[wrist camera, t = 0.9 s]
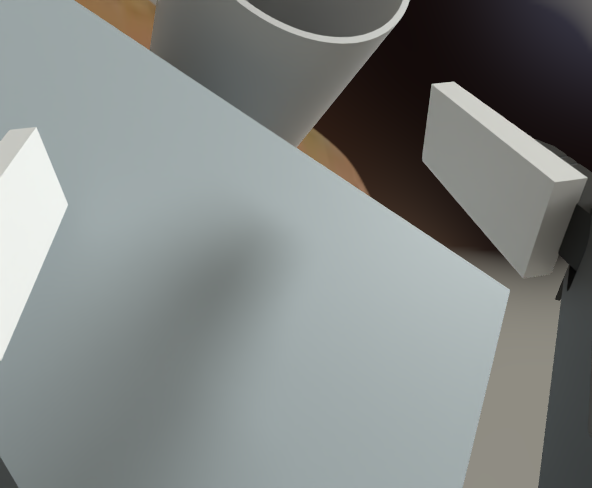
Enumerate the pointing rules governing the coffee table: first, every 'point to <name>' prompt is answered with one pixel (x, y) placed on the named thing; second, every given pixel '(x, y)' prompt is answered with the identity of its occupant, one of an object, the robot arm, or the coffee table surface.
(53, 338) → the open box
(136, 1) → the coffee table surface
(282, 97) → the cylinder vase
